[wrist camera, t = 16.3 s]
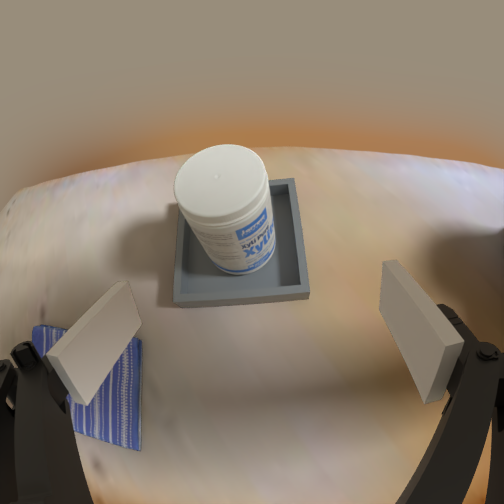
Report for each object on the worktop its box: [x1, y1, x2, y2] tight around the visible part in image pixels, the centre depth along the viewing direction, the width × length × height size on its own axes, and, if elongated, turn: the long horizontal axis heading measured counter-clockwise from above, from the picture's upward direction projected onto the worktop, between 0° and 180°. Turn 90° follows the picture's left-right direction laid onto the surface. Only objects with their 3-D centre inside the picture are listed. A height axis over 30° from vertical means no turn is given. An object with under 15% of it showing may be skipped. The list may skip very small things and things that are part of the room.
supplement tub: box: [174, 144, 276, 275], centre depth 33 cm, size 10×10×15 cm
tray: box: [173, 178, 310, 308], centre depth 39 cm, size 17×17×3 cm
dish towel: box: [32, 325, 142, 451], centre depth 34 cm, size 17×24×3 cm
